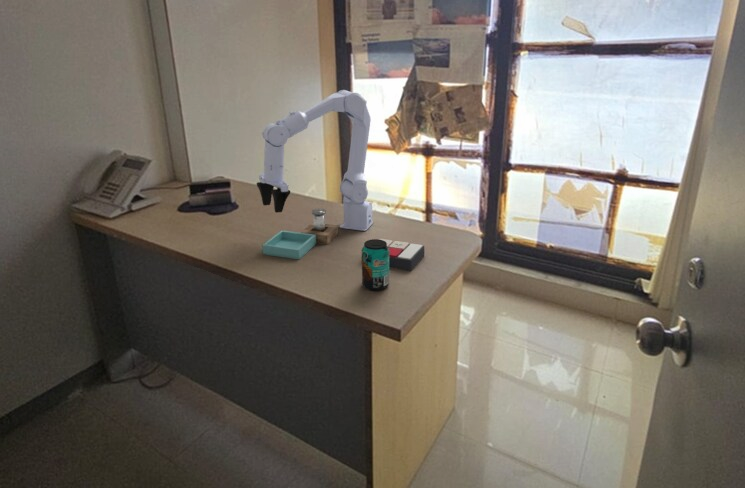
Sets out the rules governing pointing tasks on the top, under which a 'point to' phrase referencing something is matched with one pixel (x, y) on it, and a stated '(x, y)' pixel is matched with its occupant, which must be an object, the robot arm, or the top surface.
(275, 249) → the tray
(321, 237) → the hole block
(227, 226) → the top surface
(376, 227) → the top surface
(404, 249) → the red white black box
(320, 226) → the steel pin
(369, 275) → the beverage can
